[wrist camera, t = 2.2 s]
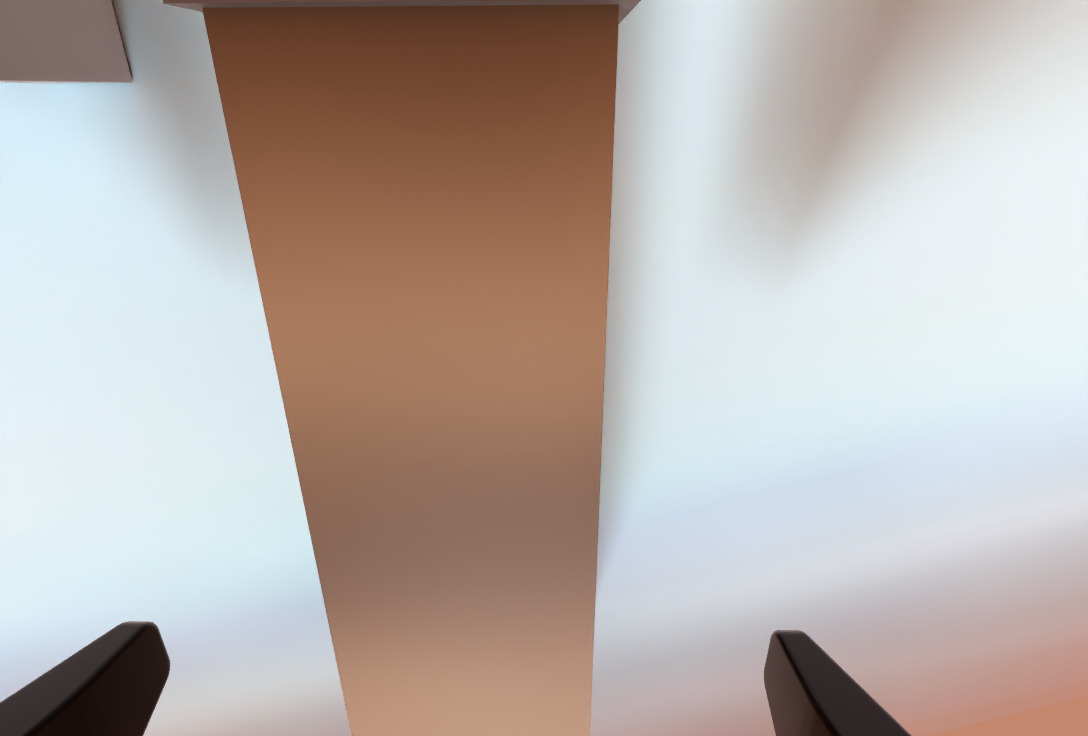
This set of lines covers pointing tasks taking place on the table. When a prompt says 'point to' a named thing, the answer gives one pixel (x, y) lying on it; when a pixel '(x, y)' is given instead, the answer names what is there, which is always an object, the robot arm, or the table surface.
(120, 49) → the grey block with legs
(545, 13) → the rail
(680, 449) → the table surface
